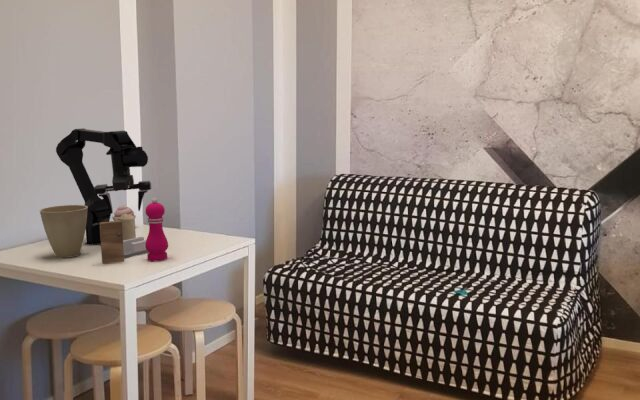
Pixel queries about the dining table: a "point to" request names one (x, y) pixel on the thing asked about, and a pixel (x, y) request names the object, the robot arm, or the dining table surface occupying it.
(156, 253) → the pepper mill
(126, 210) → the cupcake
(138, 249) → the board
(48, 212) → the plant pot
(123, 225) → the candle
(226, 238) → the dining table surface
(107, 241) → the door
